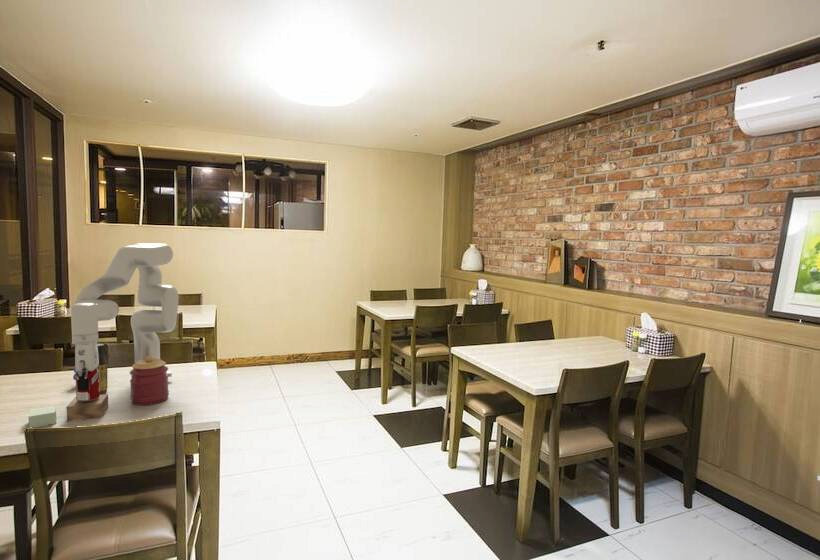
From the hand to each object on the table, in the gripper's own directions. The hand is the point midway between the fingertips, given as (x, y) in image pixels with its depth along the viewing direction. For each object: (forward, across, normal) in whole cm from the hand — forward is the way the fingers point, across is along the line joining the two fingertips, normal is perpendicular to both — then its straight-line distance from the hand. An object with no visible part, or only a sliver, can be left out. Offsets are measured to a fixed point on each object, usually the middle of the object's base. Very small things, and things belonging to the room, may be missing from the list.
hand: (87, 385), depth 161 cm
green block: (+10, -4, +12) cm, 16 cm away
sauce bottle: (+10, +23, +2) cm, 25 cm away
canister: (+10, +9, -18) cm, 23 cm away
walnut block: (+10, 0, 0) cm, 10 cm away
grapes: (+10, +40, +10) cm, 43 cm away
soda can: (+6, 0, 0) cm, 6 cm away
